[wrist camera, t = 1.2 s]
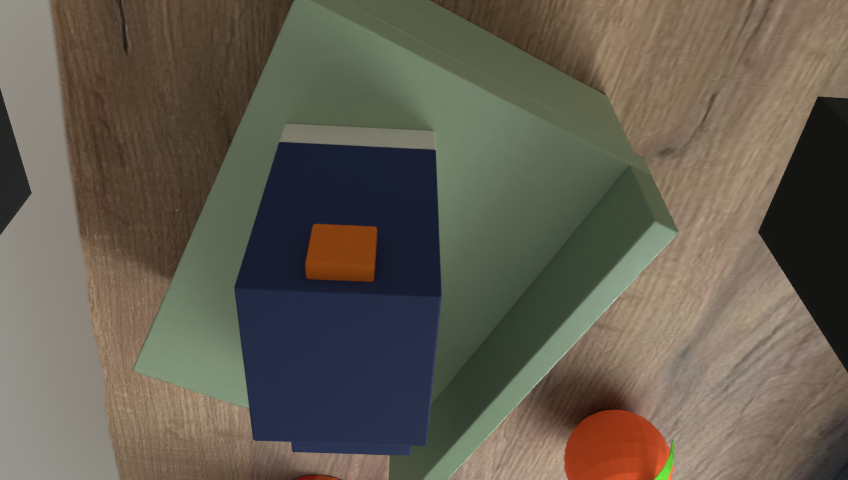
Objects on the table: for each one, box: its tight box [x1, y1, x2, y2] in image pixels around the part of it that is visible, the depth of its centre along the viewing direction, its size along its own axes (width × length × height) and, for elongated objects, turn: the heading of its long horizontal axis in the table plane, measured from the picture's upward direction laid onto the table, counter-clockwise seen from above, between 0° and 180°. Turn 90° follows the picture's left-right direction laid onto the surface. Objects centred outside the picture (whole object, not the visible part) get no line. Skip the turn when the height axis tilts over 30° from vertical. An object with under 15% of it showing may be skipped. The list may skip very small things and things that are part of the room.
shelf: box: [133, 0, 678, 480], centre depth 35 cm, size 16×22×11 cm
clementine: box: [564, 410, 674, 480], centre depth 48 cm, size 8×7×7 cm
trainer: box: [234, 123, 442, 456], centre depth 29 cm, size 16×6×10 cm, turn 177°
